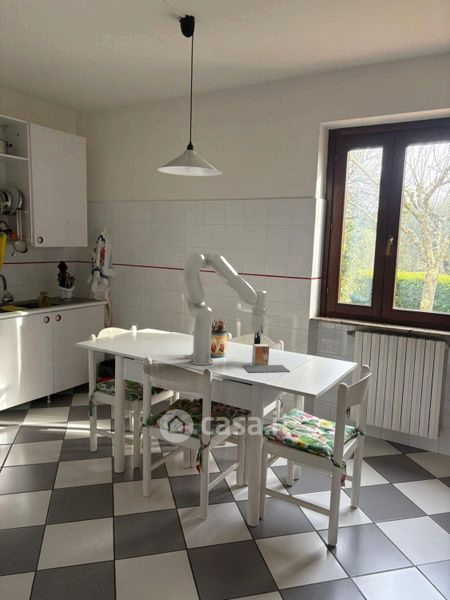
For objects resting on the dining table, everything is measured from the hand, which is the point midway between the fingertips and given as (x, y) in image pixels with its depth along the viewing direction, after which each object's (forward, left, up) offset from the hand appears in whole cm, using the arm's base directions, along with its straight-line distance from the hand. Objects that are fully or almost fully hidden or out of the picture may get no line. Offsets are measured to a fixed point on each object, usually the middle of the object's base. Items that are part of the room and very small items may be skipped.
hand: (257, 344), depth 252 cm
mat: (0, -19, -9) cm, 21 cm away
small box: (0, -8, -9) cm, 12 cm away
